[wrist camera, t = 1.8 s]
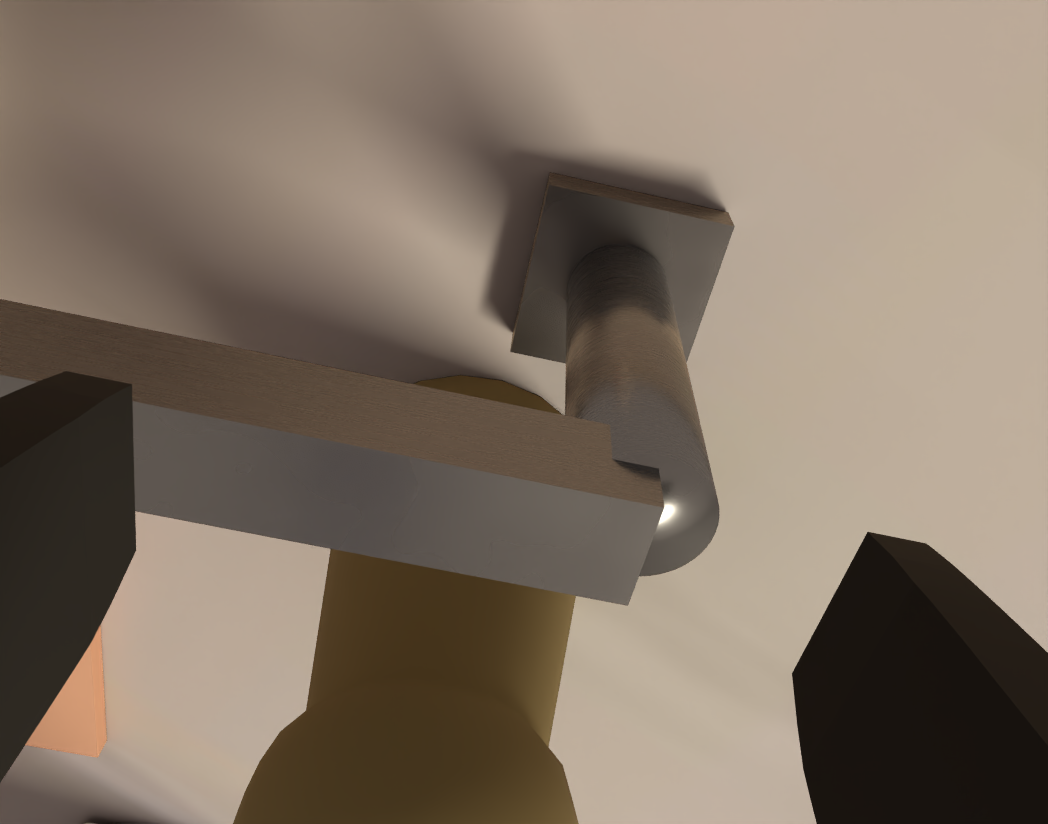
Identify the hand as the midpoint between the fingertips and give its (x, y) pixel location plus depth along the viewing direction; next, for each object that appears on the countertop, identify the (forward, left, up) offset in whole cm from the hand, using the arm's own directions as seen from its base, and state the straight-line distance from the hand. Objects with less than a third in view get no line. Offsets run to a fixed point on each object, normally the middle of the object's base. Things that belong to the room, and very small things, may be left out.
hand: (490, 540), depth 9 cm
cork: (-7, 0, -11) cm, 13 cm away
